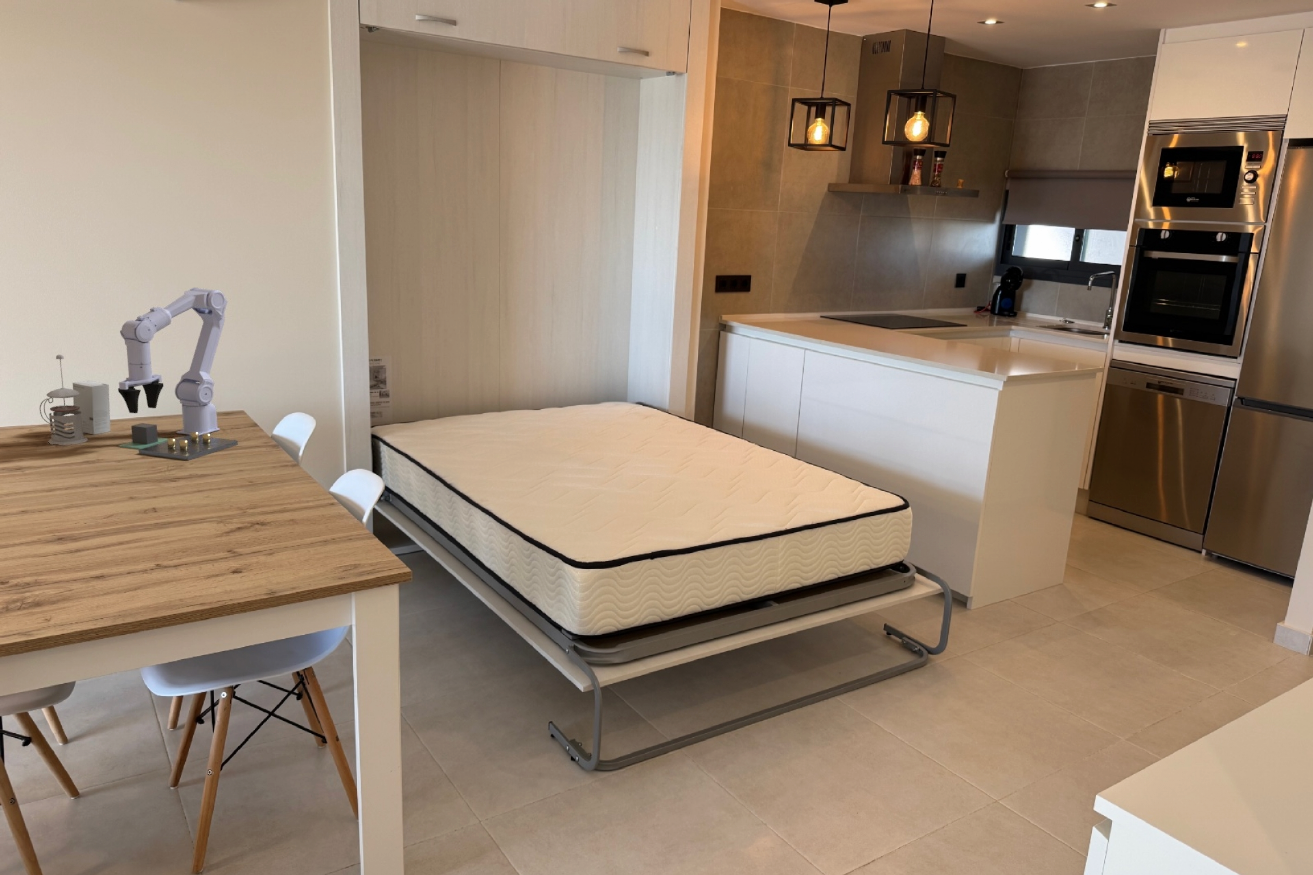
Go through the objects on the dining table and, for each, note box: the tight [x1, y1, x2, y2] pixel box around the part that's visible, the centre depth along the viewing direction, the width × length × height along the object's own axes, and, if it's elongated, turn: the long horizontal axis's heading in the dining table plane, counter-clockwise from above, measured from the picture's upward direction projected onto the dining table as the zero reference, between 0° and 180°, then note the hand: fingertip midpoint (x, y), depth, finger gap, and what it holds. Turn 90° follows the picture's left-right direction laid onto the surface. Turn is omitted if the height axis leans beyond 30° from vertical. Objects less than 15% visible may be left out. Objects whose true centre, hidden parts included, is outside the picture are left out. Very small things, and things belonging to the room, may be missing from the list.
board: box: [118, 422, 168, 450], centre depth 260 cm, size 12×7×6 cm, turn 167°
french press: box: [39, 354, 89, 446], centre depth 255 cm, size 10×12×25 cm
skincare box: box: [72, 380, 111, 435], centre depth 268 cm, size 8×6×15 cm
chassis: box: [138, 432, 239, 461], centre depth 257 cm, size 20×16×4 cm
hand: (142, 410), depth 257 cm, fingers open, 7 cm apart
